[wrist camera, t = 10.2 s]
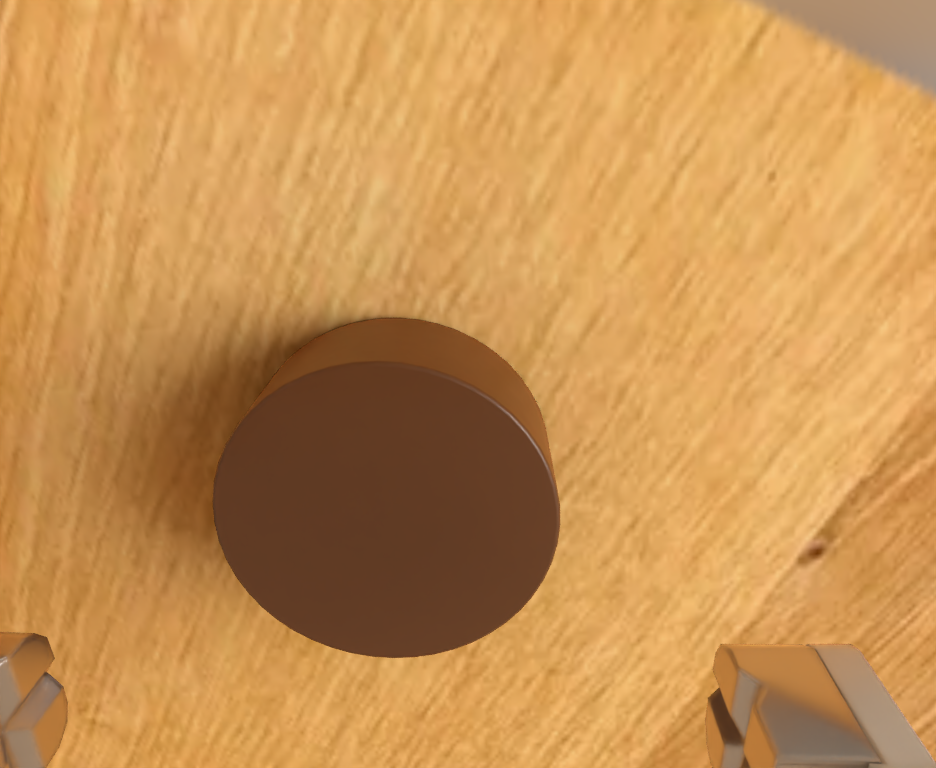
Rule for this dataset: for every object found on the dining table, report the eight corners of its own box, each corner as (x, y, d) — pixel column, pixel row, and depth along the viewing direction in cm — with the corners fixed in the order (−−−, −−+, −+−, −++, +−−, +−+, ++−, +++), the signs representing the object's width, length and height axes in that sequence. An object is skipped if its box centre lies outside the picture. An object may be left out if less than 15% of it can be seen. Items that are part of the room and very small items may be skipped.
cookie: (193, 407, 14) (138, 466, 12) (453, 258, 13) (447, 293, 10) (358, 617, 16) (339, 702, 14) (598, 506, 15) (619, 580, 12)
